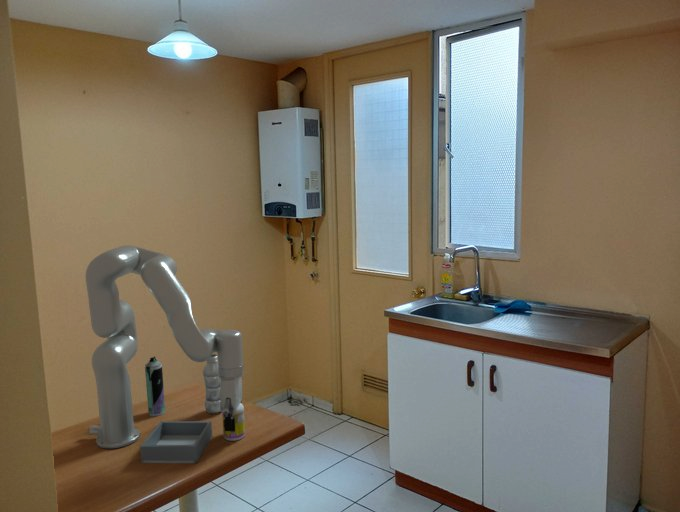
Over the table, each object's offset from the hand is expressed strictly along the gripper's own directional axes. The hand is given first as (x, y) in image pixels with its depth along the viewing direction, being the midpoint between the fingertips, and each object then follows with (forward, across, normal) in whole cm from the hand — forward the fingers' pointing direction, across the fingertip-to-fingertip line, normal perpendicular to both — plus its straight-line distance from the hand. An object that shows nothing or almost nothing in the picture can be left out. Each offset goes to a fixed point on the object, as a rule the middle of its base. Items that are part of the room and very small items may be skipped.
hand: (233, 423), depth 172 cm
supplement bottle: (+5, 0, 0) cm, 5 cm away
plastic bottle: (+4, -18, -11) cm, 22 cm away
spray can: (+4, -17, -31) cm, 36 cm away
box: (+4, +8, -15) cm, 18 cm away
